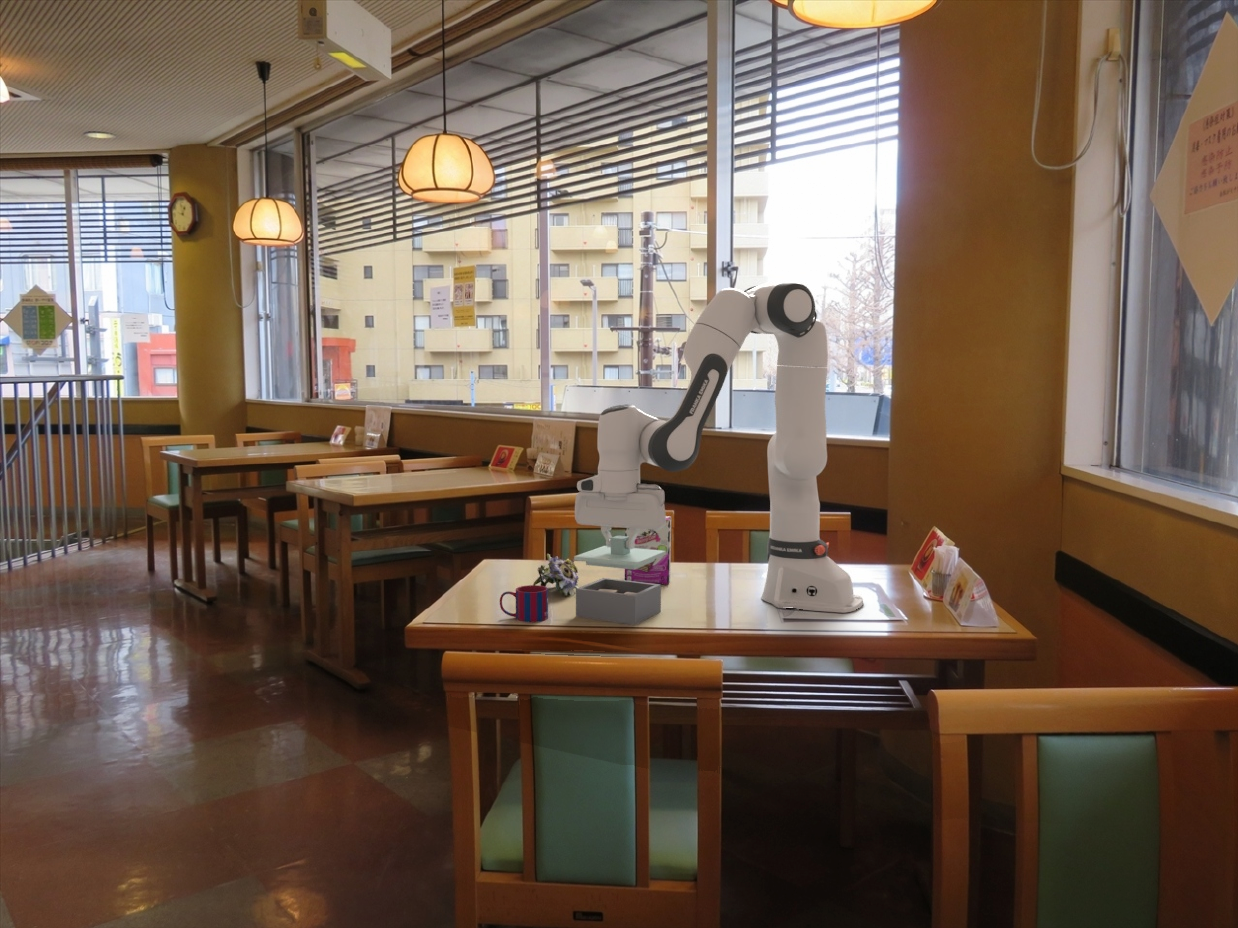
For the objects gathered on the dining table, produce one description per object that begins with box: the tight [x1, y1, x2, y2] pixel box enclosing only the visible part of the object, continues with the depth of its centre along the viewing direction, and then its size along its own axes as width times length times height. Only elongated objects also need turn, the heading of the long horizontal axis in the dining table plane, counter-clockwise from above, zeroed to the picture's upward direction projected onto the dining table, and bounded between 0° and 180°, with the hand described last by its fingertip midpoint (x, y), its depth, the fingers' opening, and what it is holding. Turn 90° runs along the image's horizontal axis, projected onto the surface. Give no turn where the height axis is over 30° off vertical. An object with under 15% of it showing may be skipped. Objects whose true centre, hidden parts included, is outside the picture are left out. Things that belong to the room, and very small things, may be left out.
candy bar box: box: [624, 515, 672, 586], centre depth 233 cm, size 11×5×16 cm, turn 84°
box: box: [575, 577, 662, 626], centre depth 201 cm, size 14×12×6 cm
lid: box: [573, 535, 666, 570], centre depth 200 cm, size 15×13×6 cm
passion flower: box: [532, 553, 579, 598], centre depth 220 cm, size 11×11×12 cm
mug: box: [499, 584, 549, 623], centre depth 198 cm, size 7×10×7 cm
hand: (620, 547), depth 200 cm, fingers closed on lid, 3 cm apart
